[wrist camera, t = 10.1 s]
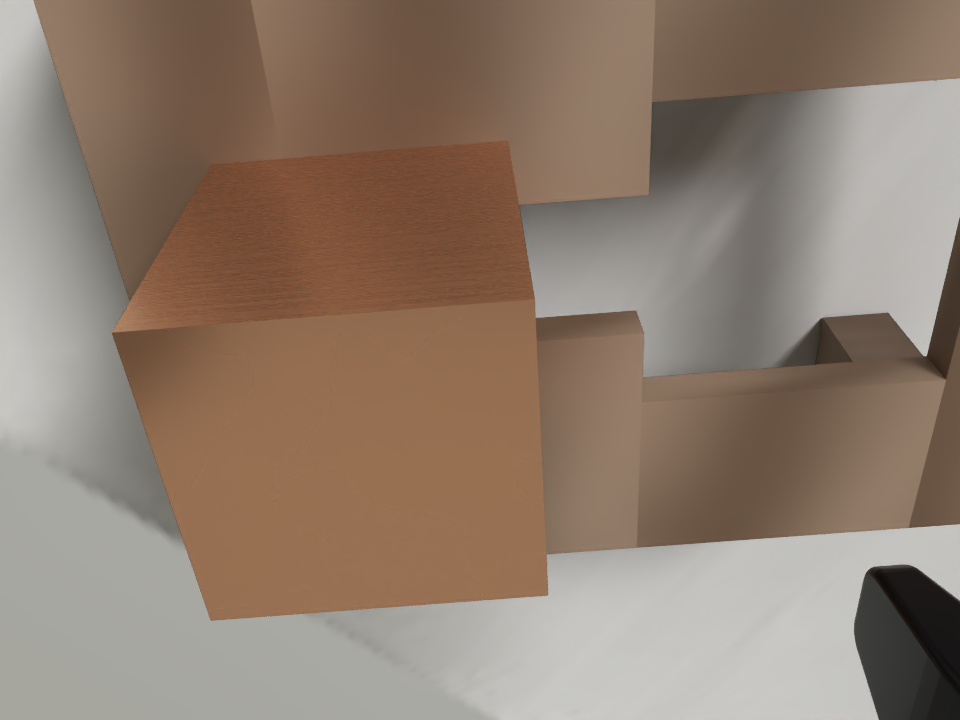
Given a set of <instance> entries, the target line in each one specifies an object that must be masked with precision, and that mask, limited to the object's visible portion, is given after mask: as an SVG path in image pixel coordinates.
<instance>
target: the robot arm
mask: <svg viewBox="0 0 960 720" xmlns="http://www.w3.org/2000/svg"><path fill="white" fill-rule="evenodd" d="M854 635H855V642H856V646H857V650H858V653H859V656H860V660H861V663H862V666H863V670H864V673H865V676H866V679H867V683H868V686H869V689H870V692H871V696H872V699H873V702H874V705H875V709H876V712H877V715H878V718H879V720H960V601H959V600H958V599H957V598H955V597H954V596H953V595H952V594H950V593H949V592H948V591H946V590H945V589H944V588H942V587H941V586H940V585H938V584H937V583H936V582H934V581H933V580H932V579H930V578H929V577H928V576H927V575H925V574H924V573H923V572H921V571H920V570H918V569H917V568H915V567H913V566H910V565H892V566H878V567H873V568H870V569H869V570H868V571H867V573H866V574H865V577H864V581H863V585H862V590H861V594H860V599H859V603H858V608H857V613H856V617H855V623H854Z"/></svg>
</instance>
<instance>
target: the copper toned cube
mask: <svg viewBox="0 0 960 720" xmlns="http://www.w3.org/2000/svg"><path fill="white" fill-rule="evenodd" d="M112 334H113V337H114V340H115V343H116V346H117V349H118V352H119V355H120V358H121V361H122V364H123V366H124V369H125V372H126V375H127V378H128V381H129V384H130V387H131V390H132V393H133V396H134V398H135V401H136V404H137V407H138V410H139V413H140V416H141V419H142V422H143V425H144V428H145V431H146V433H147V436H148V439H149V442H150V445H151V448H152V451H153V454H154V457H155V460H156V463H157V465H158V468H159V471H160V474H161V477H162V480H163V483H164V486H165V489H166V492H167V495H168V498H169V500H170V503H171V506H172V509H173V512H174V515H175V518H176V521H177V524H178V527H179V530H180V532H181V535H182V538H183V541H184V544H185V547H186V550H187V553H188V556H189V559H190V561H191V564H192V567H193V570H194V573H195V576H196V579H197V582H198V585H199V588H200V591H201V593H202V597H203V599H204V602H205V605H206V608H207V611H208V614H209V617H210V620H223V619H238V618H251V617H265V616H277V615H292V614H305V613H318V612H332V611H345V610H359V609H372V608H385V607H399V606H412V605H426V604H439V603H453V602H466V601H479V600H493V599H506V598H520V597H533V596H546V595H548V580H547V558H546V536H545V514H544V492H543V470H542V448H541V426H540V404H539V382H538V360H537V338H536V316H535V298H534V292H533V286H532V280H531V274H530V268H529V262H528V256H527V250H526V244H525V238H524V232H523V226H522V220H521V214H520V208H519V202H518V196H517V190H516V184H515V178H514V172H513V166H512V160H511V154H510V148H509V142H508V140H506V141H493V142H481V143H469V144H456V145H444V146H432V147H419V148H407V149H395V150H382V151H370V152H358V153H345V154H333V155H321V156H309V157H296V158H284V159H272V160H259V161H247V162H235V163H222V164H211V165H210V167H209V169H208V171H207V172H206V174H205V176H204V177H203V179H202V181H201V182H200V184H199V186H198V187H197V189H196V191H195V193H194V194H193V196H192V198H191V199H190V201H189V203H188V204H187V206H186V208H185V210H184V211H183V213H182V215H181V216H180V218H179V220H178V221H177V223H176V225H175V226H174V228H173V230H172V232H171V233H170V235H169V237H168V238H167V240H166V242H165V243H164V245H163V247H162V248H161V250H160V252H159V254H158V255H157V257H156V259H155V260H154V262H153V264H152V265H151V267H150V269H149V271H148V272H147V274H146V276H145V277H144V279H143V281H142V282H141V284H140V286H139V287H138V289H137V291H136V293H135V294H134V296H133V298H132V299H131V301H130V303H129V304H128V306H127V308H126V310H125V311H124V313H123V315H122V316H121V318H120V320H119V321H118V323H117V325H116V326H115V328H114V330H113V332H112Z"/></svg>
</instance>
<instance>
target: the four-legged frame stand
mask: <svg viewBox="0 0 960 720" xmlns="http://www.w3.org/2000/svg"><path fill="white" fill-rule="evenodd" d="M34 3H35V7H36V10H37V13H38V16H39V19H40V22H41V25H42V29H43V32H44V35H45V38H46V41H47V44H48V47H49V50H50V54H51V57H52V60H53V63H54V66H55V69H56V72H57V75H58V79H59V82H60V85H61V88H62V91H63V94H64V97H65V100H66V104H67V107H68V110H69V113H70V116H71V119H72V122H73V125H74V129H75V132H76V135H77V138H78V141H79V144H80V147H81V151H82V154H83V157H84V160H85V163H86V166H87V169H88V172H89V176H90V179H91V182H92V185H93V188H94V191H95V194H96V197H97V201H98V204H99V207H100V210H101V213H102V216H103V219H104V222H105V226H106V229H107V232H108V235H109V238H110V241H111V244H112V247H113V251H114V254H115V257H116V260H117V263H118V266H119V269H120V273H121V276H122V279H123V282H124V285H125V288H126V291H127V294H128V298H129V301H131V299H132V298H133V296H134V294H135V293H136V291H137V289H138V287H139V286H140V284H141V282H142V281H143V279H144V277H145V276H146V274H147V272H148V271H149V269H150V267H151V265H152V264H153V262H154V260H155V259H156V257H157V255H158V254H159V252H160V250H161V248H162V247H163V245H164V243H165V242H166V240H167V238H168V237H169V235H170V233H171V232H172V230H173V228H174V226H175V225H176V223H177V221H178V220H179V218H180V216H181V215H182V213H183V211H184V210H185V208H186V206H187V204H188V203H189V201H190V199H191V198H192V196H193V194H194V193H195V191H196V189H197V187H198V186H199V184H200V182H201V181H202V179H203V177H204V176H205V174H206V172H207V171H208V169H209V167H210V165H211V164H222V163H235V162H247V161H259V160H272V159H284V158H296V157H309V156H321V155H333V154H345V153H358V152H370V151H382V150H395V149H407V148H419V147H432V146H444V145H456V144H469V143H481V142H493V141H506V140H508V142H509V148H510V154H511V160H512V166H513V172H514V178H515V184H516V190H517V196H518V202H519V205H525V204H538V203H551V202H564V201H577V200H590V199H603V198H616V197H629V196H642V195H649V175H650V146H651V116H652V102H661V101H674V100H687V99H700V98H712V97H725V96H738V95H751V94H764V93H776V92H789V91H802V90H815V89H827V88H840V87H853V86H866V85H879V84H891V83H904V82H917V81H930V80H943V79H955V78H960V0H34ZM536 338H537V360H538V382H539V404H540V426H541V448H542V470H543V492H544V514H545V536H546V554H556V553H569V552H583V551H597V550H611V549H624V548H638V547H652V546H666V545H679V544H693V543H707V542H721V541H734V540H748V539H762V538H776V537H789V536H803V535H817V534H831V533H844V532H858V531H872V530H886V529H899V528H913V527H927V526H941V525H954V524H960V219H959V223H958V227H957V231H956V235H955V240H954V244H953V248H952V252H951V257H950V261H949V265H948V269H947V273H946V278H945V282H944V286H943V290H942V295H941V299H940V303H939V307H938V312H937V316H936V320H935V324H934V328H933V333H932V337H931V341H930V345H929V350H928V354H927V356H923V355H922V354H921V353H920V352H919V350H918V349H917V348H916V347H915V345H914V344H913V343H912V342H911V340H910V339H909V338H908V337H907V335H906V334H905V333H904V332H903V331H902V329H901V328H900V327H899V326H898V324H897V323H896V322H895V321H894V319H893V318H892V317H891V316H890V314H889V313H881V314H867V315H854V316H841V317H827V318H823V321H822V327H821V333H820V340H819V346H818V352H817V359H816V365H804V366H791V367H777V368H764V369H751V370H737V371H724V372H711V373H697V374H684V375H670V376H657V377H644V378H643V350H644V332H643V329H642V326H641V323H640V320H639V317H638V315H637V312H636V311H624V312H611V313H598V314H584V315H571V316H558V317H545V318H536Z"/></svg>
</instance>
